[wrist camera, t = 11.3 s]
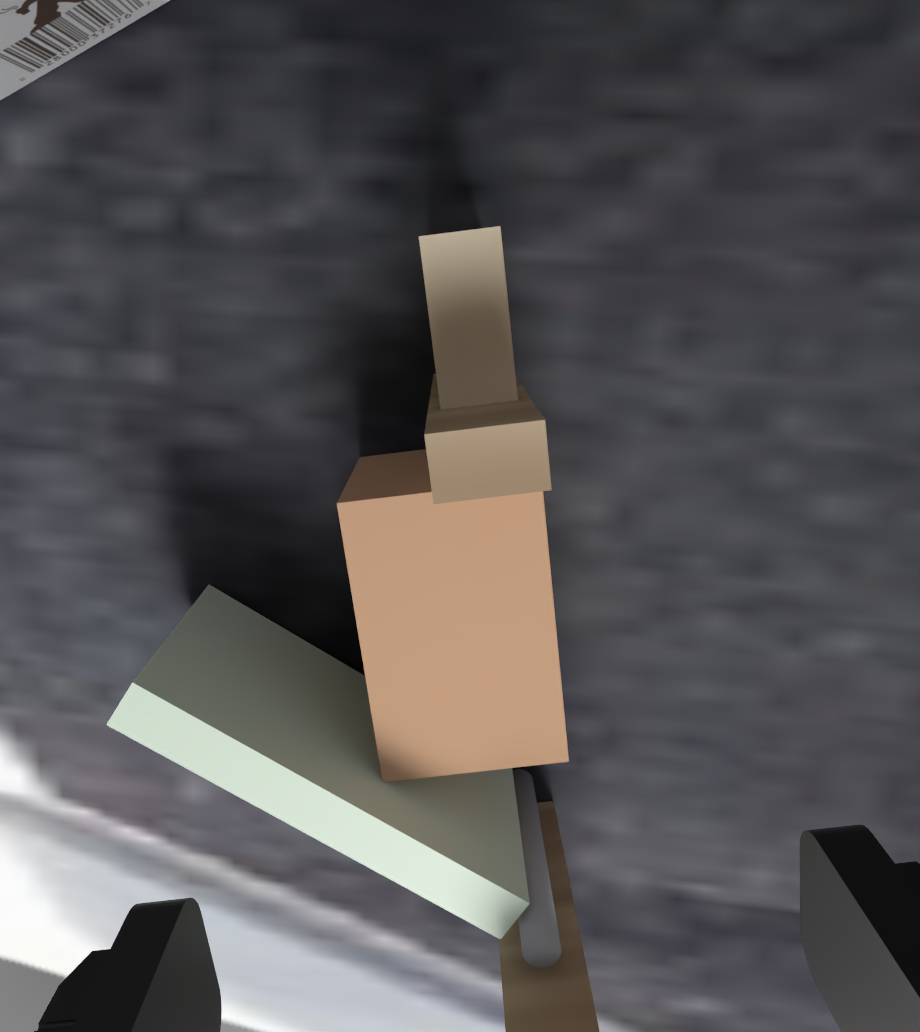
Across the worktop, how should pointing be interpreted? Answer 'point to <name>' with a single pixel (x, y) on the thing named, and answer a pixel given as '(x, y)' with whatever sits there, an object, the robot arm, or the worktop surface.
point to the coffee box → (56, 33)
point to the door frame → (483, 474)
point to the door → (339, 769)
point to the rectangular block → (452, 623)
